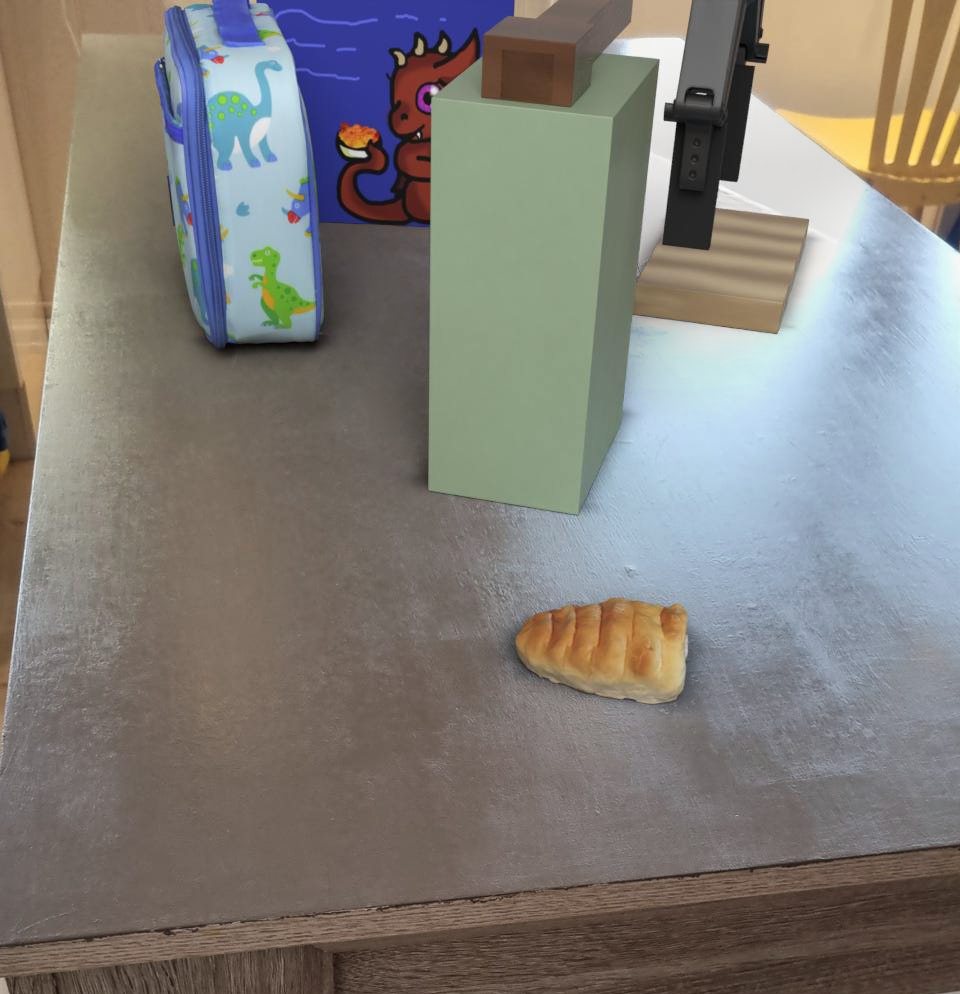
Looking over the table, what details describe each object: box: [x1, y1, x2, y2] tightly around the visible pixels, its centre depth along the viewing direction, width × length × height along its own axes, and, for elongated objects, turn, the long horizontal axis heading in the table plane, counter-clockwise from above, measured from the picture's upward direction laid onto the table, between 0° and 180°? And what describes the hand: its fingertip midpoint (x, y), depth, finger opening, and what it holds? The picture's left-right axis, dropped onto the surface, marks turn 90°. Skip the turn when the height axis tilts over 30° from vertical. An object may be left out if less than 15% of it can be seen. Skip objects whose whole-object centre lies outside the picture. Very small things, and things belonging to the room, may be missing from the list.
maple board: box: [633, 207, 810, 334], centre depth 119 cm, size 22×12×2 cm, turn 164°
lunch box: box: [153, 0, 325, 349], centre depth 104 cm, size 26×11×21 cm, turn 12°
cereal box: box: [255, 0, 516, 228], centre depth 119 cm, size 22×6×30 cm, turn 88°
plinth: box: [427, 52, 661, 516], centre depth 85 cm, size 14×10×23 cm
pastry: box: [514, 596, 689, 705], centre depth 73 cm, size 9×7×4 cm
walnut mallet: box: [481, 0, 634, 107], centre depth 80 cm, size 22×5×3 cm, turn 164°
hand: (702, 210), depth 84 cm, fingers open, 13 cm apart
